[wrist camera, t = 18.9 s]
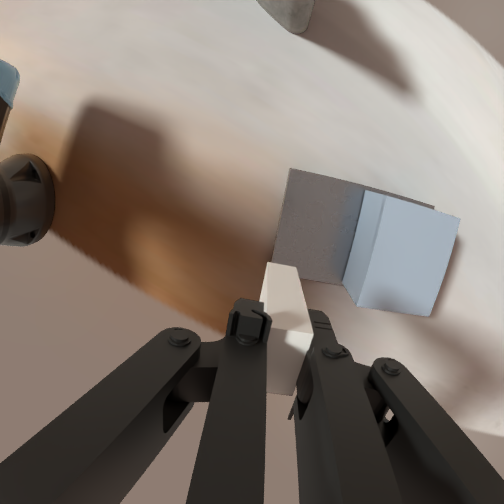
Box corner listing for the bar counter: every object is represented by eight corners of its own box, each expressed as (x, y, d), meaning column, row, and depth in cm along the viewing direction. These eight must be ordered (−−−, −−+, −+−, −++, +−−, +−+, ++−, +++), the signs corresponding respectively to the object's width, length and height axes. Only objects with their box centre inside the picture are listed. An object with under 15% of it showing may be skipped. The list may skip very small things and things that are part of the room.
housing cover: (342, 282, 37) (356, 306, 30) (365, 190, 34) (387, 195, 27) (406, 293, 37) (428, 316, 30) (431, 209, 34) (460, 218, 27)
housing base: (269, 268, 39) (269, 281, 34) (289, 168, 35) (292, 168, 31) (404, 292, 39) (417, 305, 35) (429, 204, 35) (446, 209, 31)
